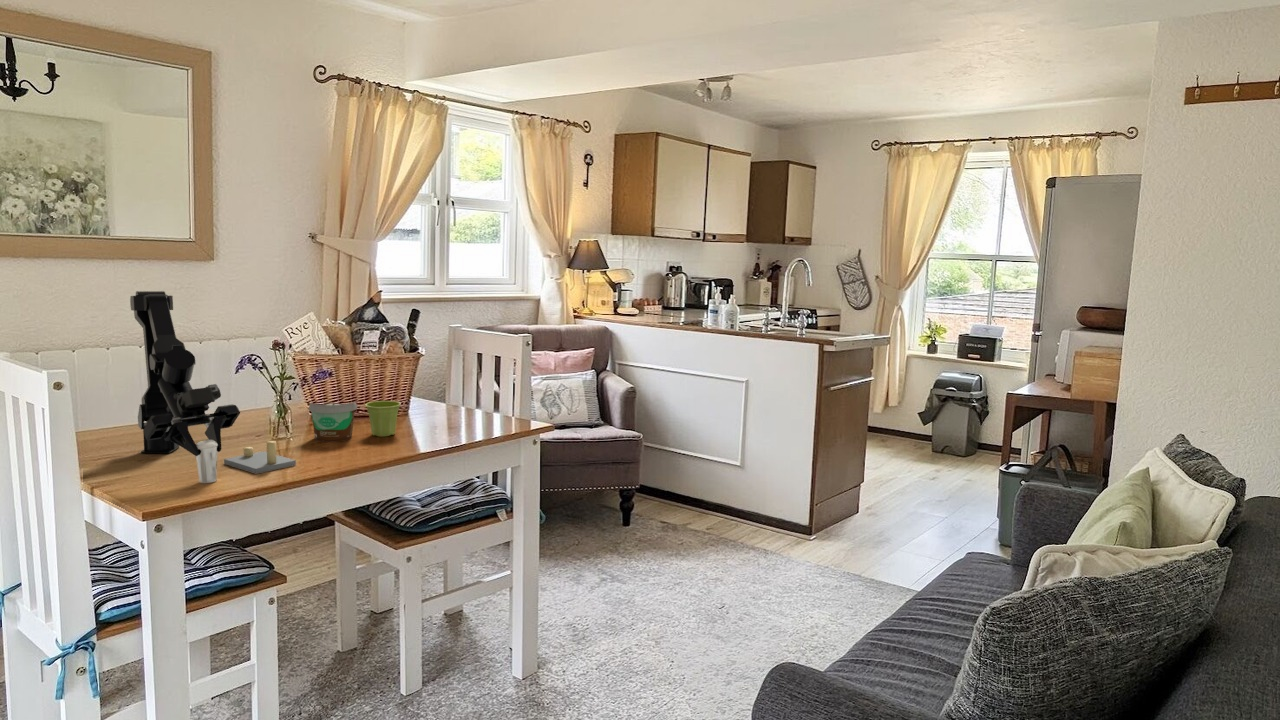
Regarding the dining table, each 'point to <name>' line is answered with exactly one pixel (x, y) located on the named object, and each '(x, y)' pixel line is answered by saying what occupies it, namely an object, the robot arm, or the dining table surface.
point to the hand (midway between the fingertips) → (208, 452)
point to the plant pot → (383, 417)
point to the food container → (333, 421)
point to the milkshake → (207, 461)
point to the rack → (260, 460)
